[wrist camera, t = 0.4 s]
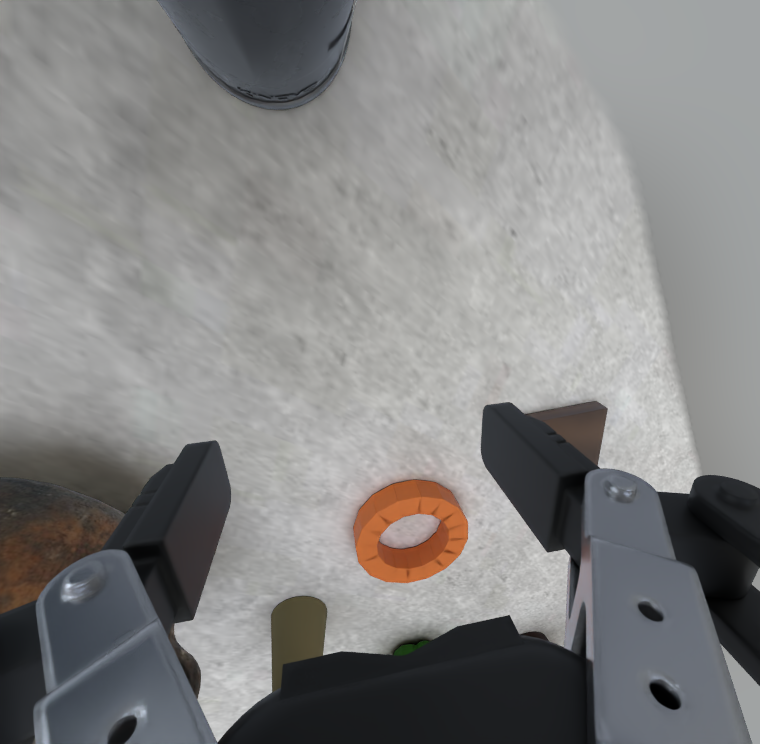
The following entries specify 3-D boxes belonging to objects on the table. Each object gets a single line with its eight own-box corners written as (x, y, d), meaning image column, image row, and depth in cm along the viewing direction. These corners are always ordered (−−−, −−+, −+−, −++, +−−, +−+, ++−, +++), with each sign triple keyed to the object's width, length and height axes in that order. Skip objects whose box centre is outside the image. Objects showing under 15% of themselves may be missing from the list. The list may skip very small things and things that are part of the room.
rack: (508, 417, 33) (597, 507, 22) (596, 400, 34) (721, 480, 23) (504, 491, 37) (580, 599, 26) (584, 474, 38) (687, 571, 27)
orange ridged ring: (346, 492, 33) (348, 511, 31) (458, 470, 34) (467, 486, 32) (361, 571, 38) (364, 593, 35) (459, 549, 39) (468, 568, 37)
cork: (337, 603, 39) (344, 734, 29) (311, 637, 40) (309, 773, 30) (286, 590, 37) (275, 727, 27) (261, 627, 38) (241, 769, 28)
